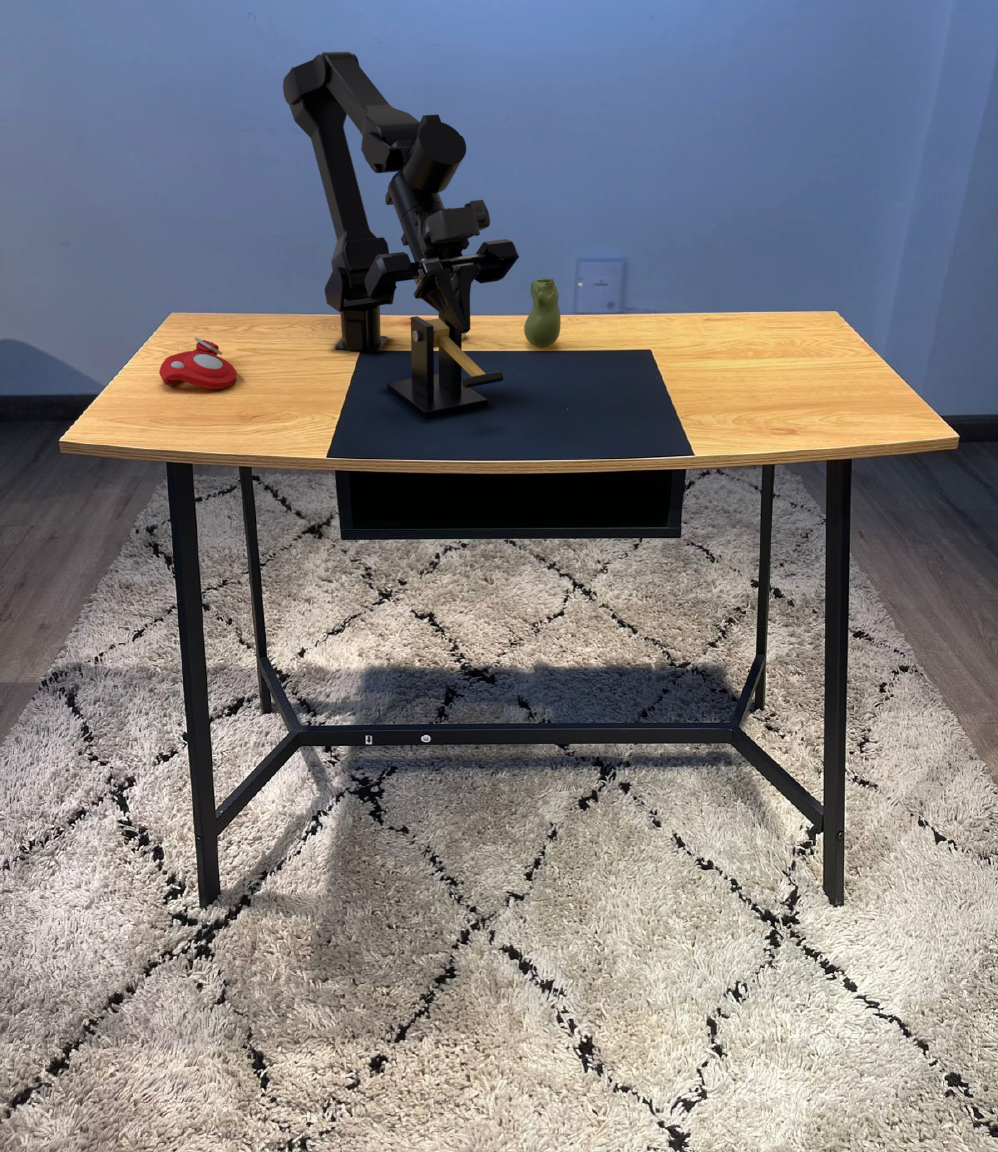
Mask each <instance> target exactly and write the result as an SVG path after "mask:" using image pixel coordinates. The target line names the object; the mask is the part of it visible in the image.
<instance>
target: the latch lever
mask: <svg viewBox="0 0 998 1152" xmlns="http://www.w3.org/2000/svg"><path fill="white" fill-rule="evenodd" d="M424 321H426V322H428V323H429V324H431V325H433V331H434V348H435V349H436V348H439V347H441V346H442V347H443V348H444V349H445V350H446V351H447V352H448V353H449V354H450V355H451V356H452V358H453V359H454V360H455V361H456V362H457V363H458V364H459V365H460V366H461V369H463V370H464V371H465V372H466V373H467V374H468V375H469V376H468V377H463V378H462V380H461V382H462V383H463V386H464V388H473V387H474V388H475V387H478V386H479V387H480V386H483V385H489V384H493V383H494V384H495V383H499V382H503V380H504V373H503V372H502V371H500V370H499V371H493V372H488V373H486V372H485V371H483V369H481V368H480V366H478V365H477V363H476V362H475V361H474V360H472V359H471V357H469V355H468V354H466V353H465V351H464V350H461V349H460V348H459V347H458V346H457V345H456V344H455V343H454V342H453V341H452V340H451V339H450V338H449V330H450V328H449V327H448V326H447V325H446V324H445V323H444V322H443V321H442V320H441V319H440V318H439V317H438V318H433V319H426V320H424Z"/></svg>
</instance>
